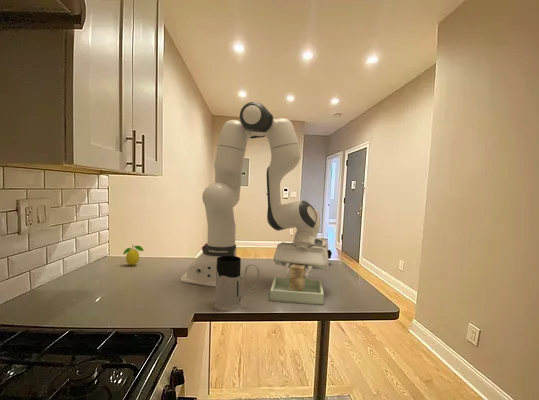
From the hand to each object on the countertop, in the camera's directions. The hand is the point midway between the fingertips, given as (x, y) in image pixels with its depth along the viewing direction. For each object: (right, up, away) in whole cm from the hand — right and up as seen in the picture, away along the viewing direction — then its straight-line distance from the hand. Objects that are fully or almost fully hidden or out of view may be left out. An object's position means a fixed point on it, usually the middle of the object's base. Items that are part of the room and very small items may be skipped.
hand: (297, 276), depth 106 cm
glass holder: (-20, -7, -11) cm, 24 cm away
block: (0, -4, +1) cm, 4 cm away
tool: (+9, -5, +43) cm, 44 cm away
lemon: (-72, -3, +31) cm, 78 cm away
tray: (0, -7, +1) cm, 7 cm away
